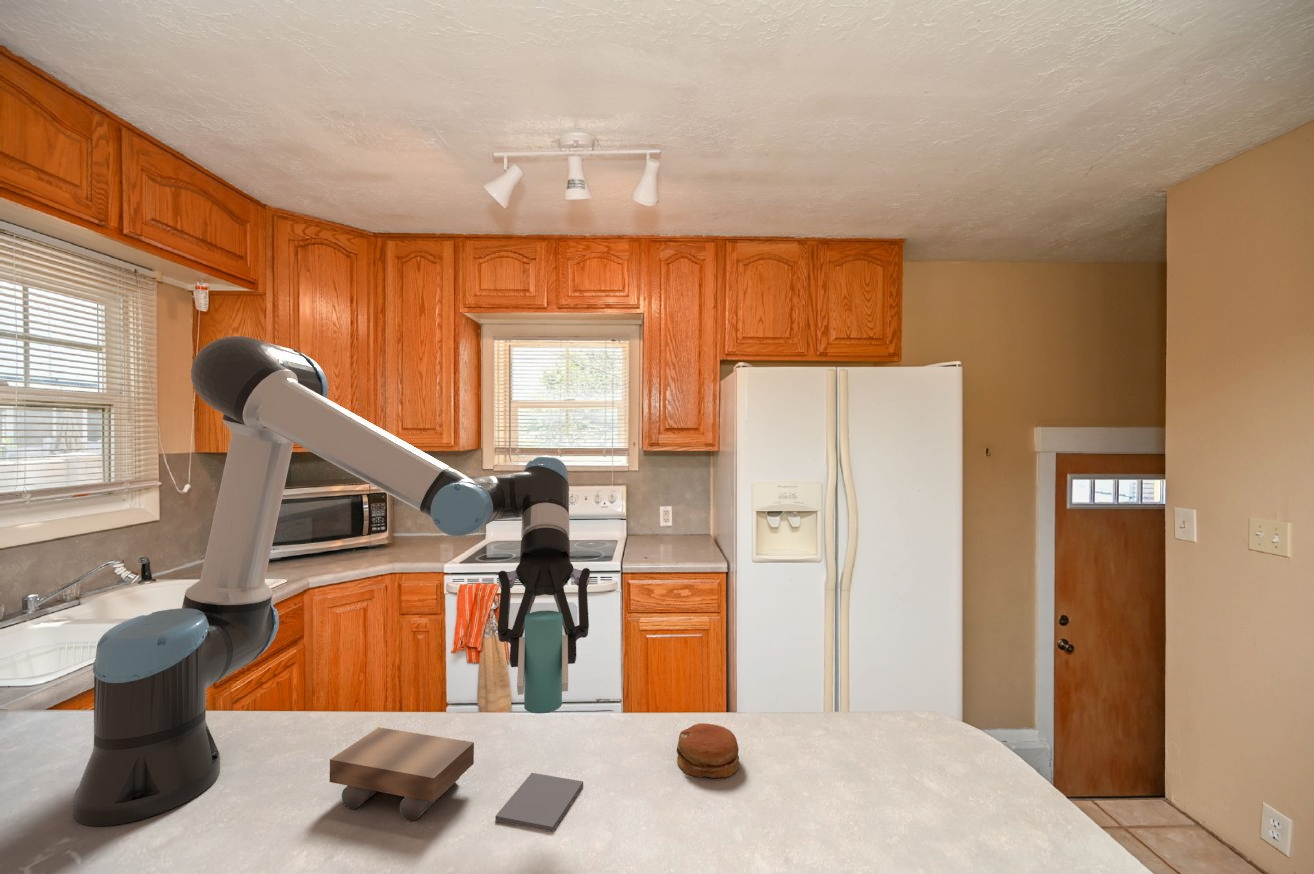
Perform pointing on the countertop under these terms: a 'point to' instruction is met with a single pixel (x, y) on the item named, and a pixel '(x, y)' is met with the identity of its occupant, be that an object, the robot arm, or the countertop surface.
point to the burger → (708, 751)
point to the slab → (400, 768)
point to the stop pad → (540, 802)
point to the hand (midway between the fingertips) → (542, 688)
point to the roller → (543, 662)
